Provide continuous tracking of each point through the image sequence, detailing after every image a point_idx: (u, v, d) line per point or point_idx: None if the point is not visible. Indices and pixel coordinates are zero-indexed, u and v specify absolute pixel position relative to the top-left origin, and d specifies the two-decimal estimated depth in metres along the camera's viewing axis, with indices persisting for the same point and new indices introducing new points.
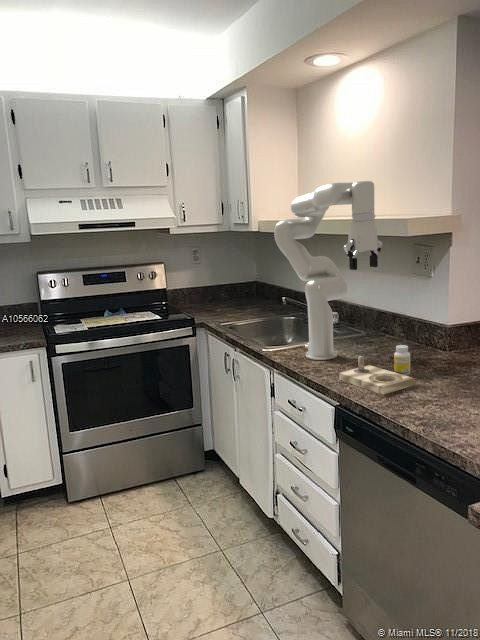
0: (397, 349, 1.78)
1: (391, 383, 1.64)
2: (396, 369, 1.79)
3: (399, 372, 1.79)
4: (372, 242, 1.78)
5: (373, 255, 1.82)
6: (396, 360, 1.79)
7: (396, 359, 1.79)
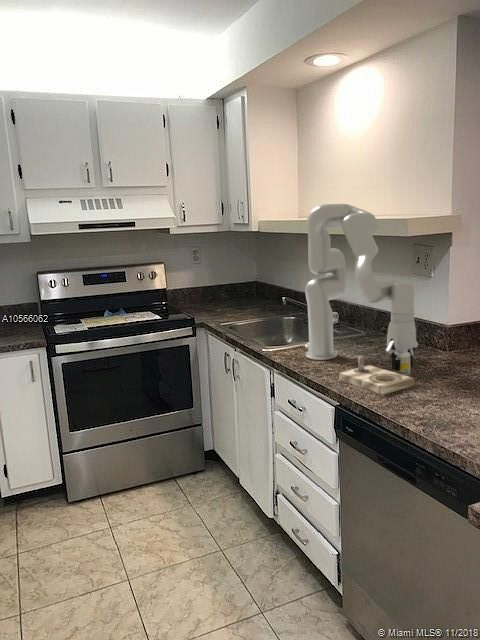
0: None
1: (391, 383, 1.64)
2: None
3: (399, 372, 1.79)
4: (411, 341, 1.78)
5: None
6: None
7: None
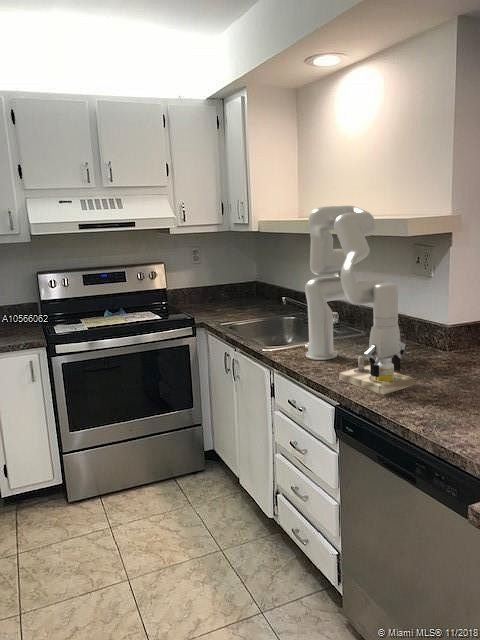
0: (380, 360, 1.67)
1: (391, 383, 1.64)
2: None
3: None
4: (395, 347, 1.66)
5: (395, 358, 1.70)
6: (379, 371, 1.67)
7: (379, 370, 1.67)
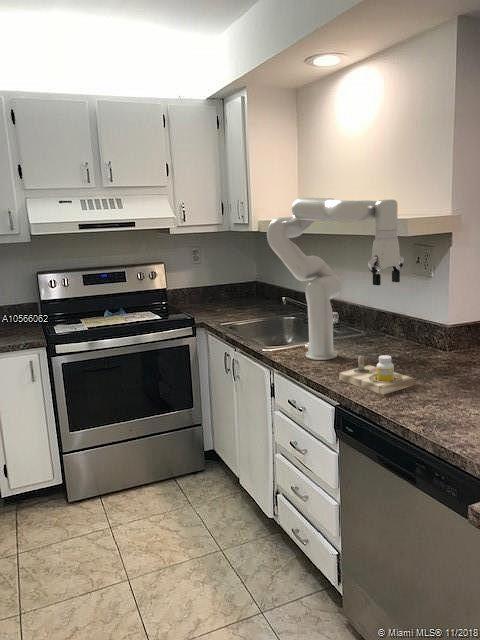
0: (380, 360, 1.67)
1: (391, 383, 1.64)
2: None
3: None
4: (395, 258, 1.84)
5: (395, 271, 1.88)
6: (379, 372, 1.67)
7: (379, 370, 1.67)
